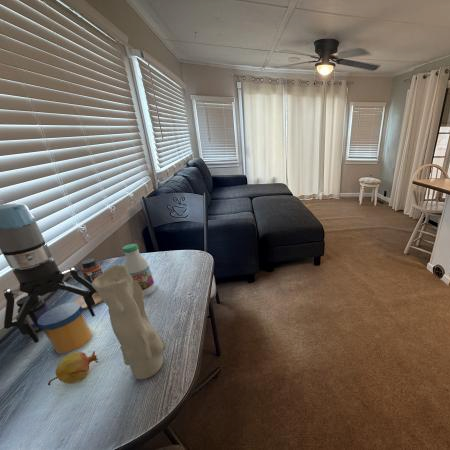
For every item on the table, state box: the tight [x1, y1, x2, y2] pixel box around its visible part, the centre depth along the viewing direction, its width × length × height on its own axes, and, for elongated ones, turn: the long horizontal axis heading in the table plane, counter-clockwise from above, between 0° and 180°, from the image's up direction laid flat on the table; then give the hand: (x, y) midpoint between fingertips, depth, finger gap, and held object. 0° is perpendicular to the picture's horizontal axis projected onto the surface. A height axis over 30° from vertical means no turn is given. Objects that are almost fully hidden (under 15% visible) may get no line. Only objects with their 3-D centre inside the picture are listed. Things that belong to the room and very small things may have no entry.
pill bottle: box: [15, 295, 50, 332], centre depth 77 cm, size 6×6×11 cm
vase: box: [92, 264, 167, 380], centre depth 58 cm, size 9×8×30 cm
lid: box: [37, 302, 84, 331], centre depth 69 cm, size 9×9×2 cm
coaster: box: [71, 293, 104, 310], centre depth 91 cm, size 12×12×1 cm
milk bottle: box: [122, 243, 156, 297], centre depth 91 cm, size 8×8×20 cm
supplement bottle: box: [80, 258, 104, 283], centre depth 98 cm, size 6×6×11 cm
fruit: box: [47, 351, 99, 386], centre depth 61 cm, size 7×7×10 cm
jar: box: [43, 313, 93, 354], centre depth 71 cm, size 8×8×10 cm
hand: (66, 326), depth 70 cm, fingers open, 12 cm apart
